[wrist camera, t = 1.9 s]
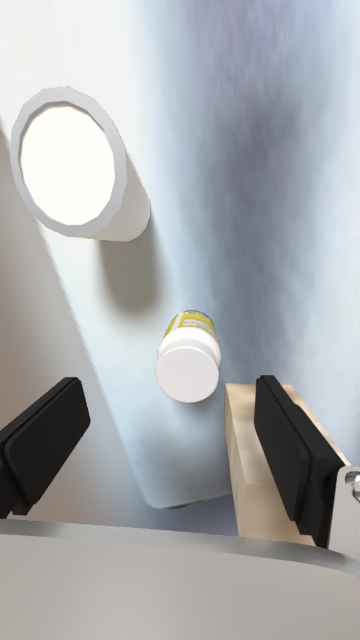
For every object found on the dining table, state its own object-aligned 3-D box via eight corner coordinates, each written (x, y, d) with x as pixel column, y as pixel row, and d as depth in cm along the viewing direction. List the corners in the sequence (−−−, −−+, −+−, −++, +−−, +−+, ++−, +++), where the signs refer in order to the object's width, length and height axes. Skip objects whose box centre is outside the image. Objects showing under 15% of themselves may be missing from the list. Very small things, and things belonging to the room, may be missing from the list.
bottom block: (290, 383, 19) (319, 421, 15) (283, 433, 21) (307, 480, 17) (225, 382, 20) (232, 417, 16) (224, 430, 22) (231, 474, 18)
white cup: (127, 144, 15) (66, 42, 8) (172, 219, 16) (151, 185, 9) (71, 198, 16) (-17, 151, 10) (116, 263, 18) (64, 260, 11)
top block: (318, 421, 15) (374, 495, 10) (306, 480, 17) (348, 566, 12) (232, 417, 16) (245, 484, 11) (230, 474, 18) (241, 551, 13)
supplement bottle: (181, 356, 20) (168, 417, 12) (162, 320, 19) (133, 358, 11) (222, 340, 19) (237, 394, 11) (203, 300, 18) (205, 328, 10)
